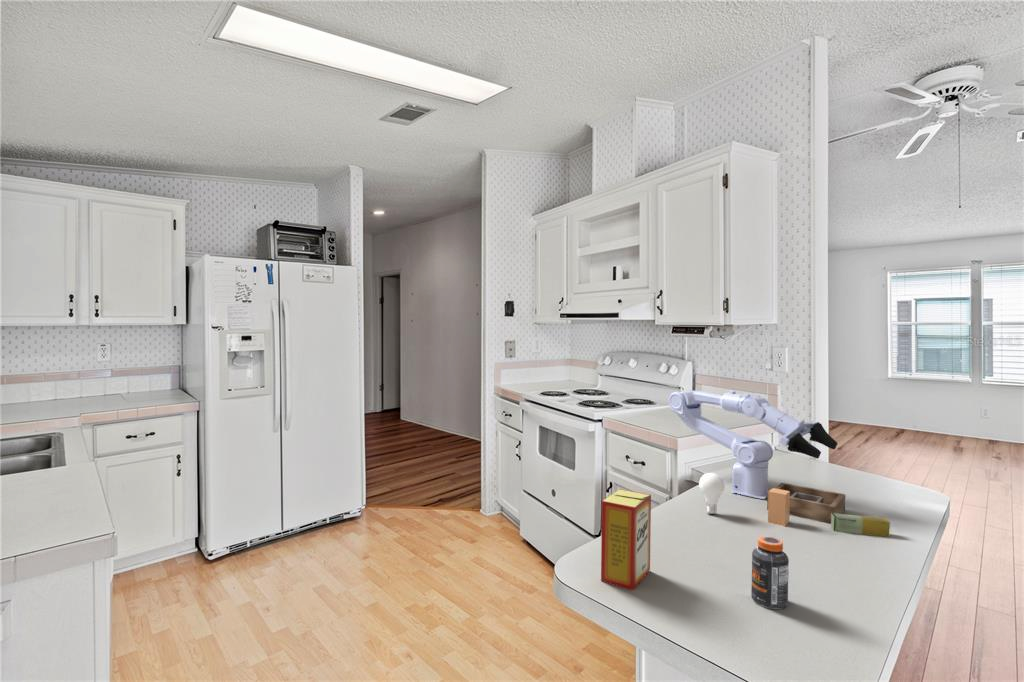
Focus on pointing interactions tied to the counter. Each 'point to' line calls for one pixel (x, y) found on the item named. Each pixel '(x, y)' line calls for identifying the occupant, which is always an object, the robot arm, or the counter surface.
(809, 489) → the walled box
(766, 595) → the pill bottle
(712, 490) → the lightbulb
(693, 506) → the counter surface
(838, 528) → the medication box
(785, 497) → the peach plain square-edged block
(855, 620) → the counter surface
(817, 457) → the robot arm
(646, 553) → the baking soda box
